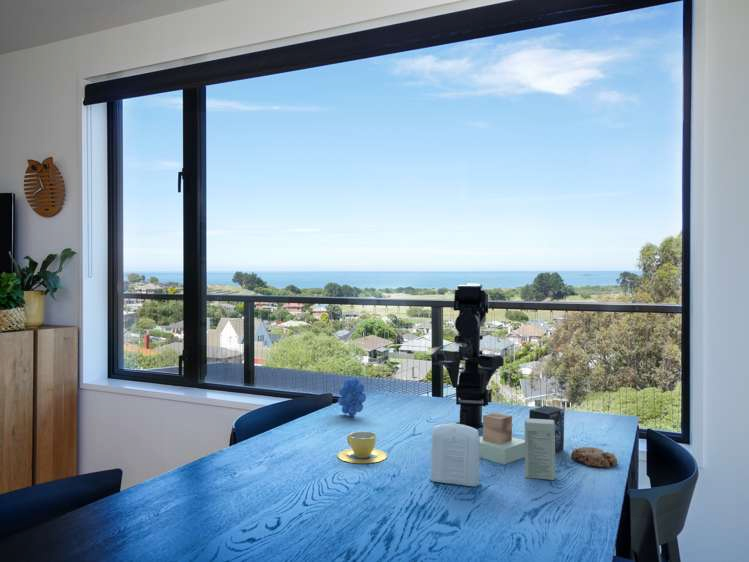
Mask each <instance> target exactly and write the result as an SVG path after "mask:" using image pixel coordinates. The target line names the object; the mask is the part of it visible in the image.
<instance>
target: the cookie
mask: <svg viewBox="0 0 749 562" xmlns="http://www.w3.org/2000/svg"><path fill="white" fill-rule="evenodd" d="M570 457H571V459H573V461H576V462H581V463H583V464H584V465H586V466H589V467H590V466H591V467H592V466H593V467H598V468H606V469H607V468H608V469H611V468H614V467H616V466H617V465H618V459H617V457H616V456H615V454H614V453H613V452H611V453H610V452H606V451H604V450H603V449H601V448H597V447H593V446H592V447H590V446H583V447H578V448H575V449H573V451H572V452H571V454H570ZM613 466H614V467H613Z"/></svg>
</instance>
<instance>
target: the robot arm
mask: <svg viewBox="0 0 749 562" xmlns="http://www.w3.org/2000/svg"><path fill="white" fill-rule="evenodd" d="M453 297H454V299H453V311H455V312H457V311H459V312H458V316H457V317H456V318H455V321H454V327H455V329H456V331H457V335H456V334H455V335H454V341H453V342H451V343H449V344H448V345H447V346H445V347H444V348H442V349H438V350H437V351H436V353H435V361H439V364H441V365H442V366H443V367H444V368H445V369H446V371H447V373H448V377H449V380H450V382H451V383H450V384H451V385H452V388H453V389H455V401H456V403H455V405H457V406H458V405H460V406H459V407H460V408H459V421H457V422H455V424H462V425H466V426H469V427H472V428H474V429H478V428H481V427H483V407H486V406H489V390H488V389H487V387H488V386H489V383H490V380H491V379H492V377H493V375H494V374H495V372H496V370H498V369H500V367H504V364H505V363H504V358H503V356H502V355H500V354H494V353H488V354H483V350H480V349H481V340H484V339H483V338H484V335H481V327H482V326H483V325H484V323H486V320H487V314H489V306H490V305H489V295H488V293H487V292H486V291H485V289H484V288H483V283H481V282H467V283H464V284H458V285H457V288H455V289H454V296H453ZM461 361H464V369H463V370H462V371H461V372H460V365H461Z"/></svg>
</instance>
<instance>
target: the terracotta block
mask: <svg viewBox="0 0 749 562" xmlns="http://www.w3.org/2000/svg"><path fill="white" fill-rule="evenodd" d="M482 423H483V426H482V436H483V440H484V441H488V442H492V443H497V444H503V443H506V442H509V441H511V440H512V437H513V415H510V414H509V415H508V414H503V413H499V412H495V411H494V412H492V413H487V414H484V415H482Z"/></svg>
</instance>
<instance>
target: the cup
mask: <svg viewBox="0 0 749 562" xmlns="http://www.w3.org/2000/svg"><path fill="white" fill-rule="evenodd" d="M346 440H347V444H348V446H350V448H348V449H344V450H342V451H340V452H338V453H337V455H336V456H337V458H338V459H339V460H341V461H343V462H347V463H352V464H373V463H379V462H382V461H384V460H386V459H387V458H388V453H386V452H384V451H383V450H380V449H376V448H375V446H376V442H377V441H376V440H377V434H376V433H374V432H371V431H354V432H351V433H349V434H348V435H347V438H346ZM353 454H354V457H356V458H358V459H355V458H352V457H351V455H353ZM371 455H373V456H374V457H373V458H370V459H367V458H369V457H371Z"/></svg>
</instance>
